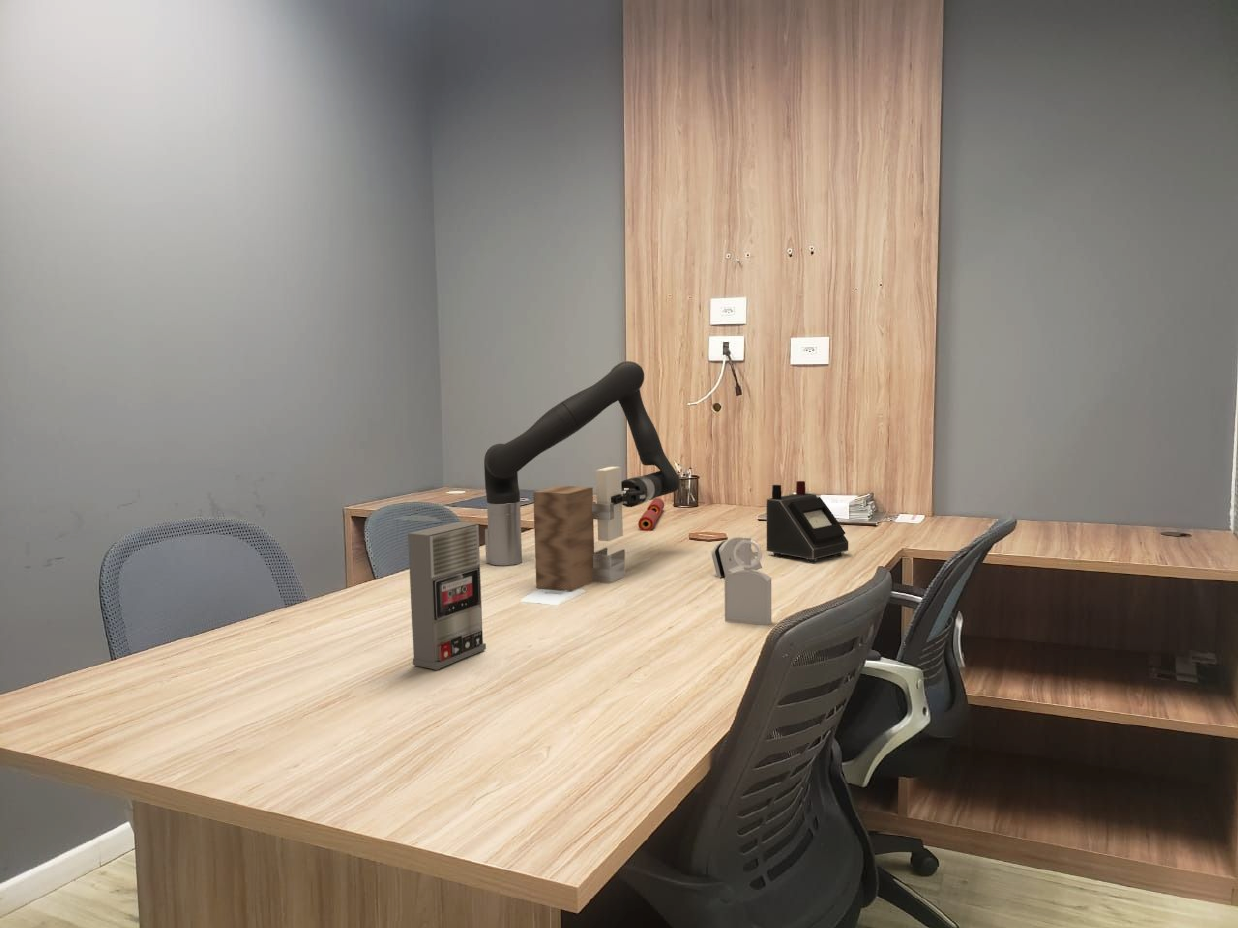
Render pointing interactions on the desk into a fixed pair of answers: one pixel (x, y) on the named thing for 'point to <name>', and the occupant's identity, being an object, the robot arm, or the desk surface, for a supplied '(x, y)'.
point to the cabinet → (571, 540)
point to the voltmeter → (802, 526)
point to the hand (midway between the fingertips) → (606, 500)
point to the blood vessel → (651, 515)
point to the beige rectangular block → (606, 488)
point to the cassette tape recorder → (445, 594)
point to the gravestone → (748, 589)
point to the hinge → (729, 557)
